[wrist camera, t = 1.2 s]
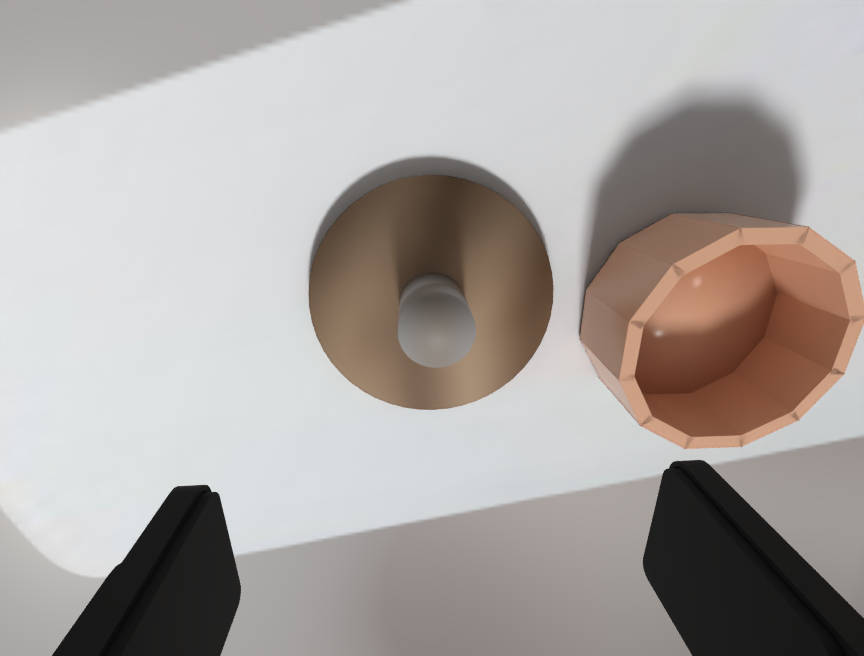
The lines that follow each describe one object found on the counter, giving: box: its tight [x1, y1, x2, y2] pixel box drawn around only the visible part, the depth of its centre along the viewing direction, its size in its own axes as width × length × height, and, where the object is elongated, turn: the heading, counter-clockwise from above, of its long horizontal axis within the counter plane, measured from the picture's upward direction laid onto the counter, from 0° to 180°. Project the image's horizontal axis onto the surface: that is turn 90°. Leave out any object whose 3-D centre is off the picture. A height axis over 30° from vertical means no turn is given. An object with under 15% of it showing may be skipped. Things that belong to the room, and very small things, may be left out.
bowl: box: [580, 213, 864, 449], centre depth 22 cm, size 11×11×5 cm
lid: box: [309, 175, 553, 410], centre depth 22 cm, size 13×13×5 cm
